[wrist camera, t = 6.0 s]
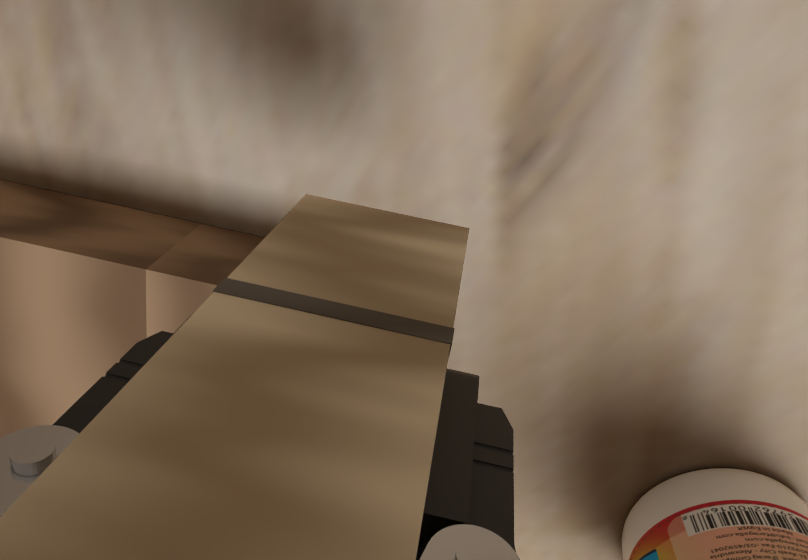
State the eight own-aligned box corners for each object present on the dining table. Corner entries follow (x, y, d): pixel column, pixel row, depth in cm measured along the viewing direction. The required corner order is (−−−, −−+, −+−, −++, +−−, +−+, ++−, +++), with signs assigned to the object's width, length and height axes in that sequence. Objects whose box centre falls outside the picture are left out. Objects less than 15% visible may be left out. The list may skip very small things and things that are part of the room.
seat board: (410, 269, 28) (359, 451, 17) (349, 568, 37) (290, 810, 26) (-56, 167, 29) (-385, 279, 18) (-4, 484, 38) (-203, 685, 27)
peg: (470, 227, 15) (366, 889, 4) (438, 366, 16) (308, 1075, 6) (305, 193, 15) (-206, 728, 4) (292, 333, 17) (-90, 956, 6)
